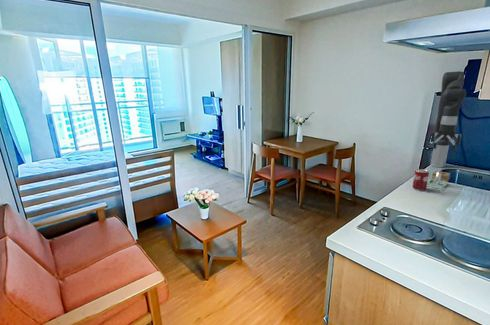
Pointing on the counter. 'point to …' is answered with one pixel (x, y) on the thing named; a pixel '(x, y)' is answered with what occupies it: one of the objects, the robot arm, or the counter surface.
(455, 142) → the robot arm
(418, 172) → the soda can
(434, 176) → the tan and green block
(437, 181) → the lock pin
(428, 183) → the tray
